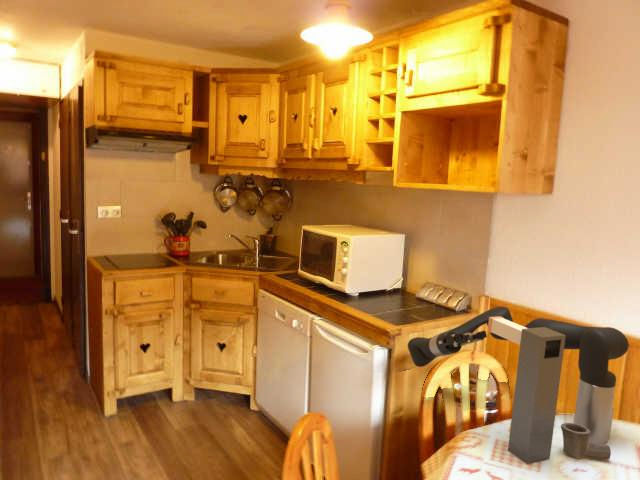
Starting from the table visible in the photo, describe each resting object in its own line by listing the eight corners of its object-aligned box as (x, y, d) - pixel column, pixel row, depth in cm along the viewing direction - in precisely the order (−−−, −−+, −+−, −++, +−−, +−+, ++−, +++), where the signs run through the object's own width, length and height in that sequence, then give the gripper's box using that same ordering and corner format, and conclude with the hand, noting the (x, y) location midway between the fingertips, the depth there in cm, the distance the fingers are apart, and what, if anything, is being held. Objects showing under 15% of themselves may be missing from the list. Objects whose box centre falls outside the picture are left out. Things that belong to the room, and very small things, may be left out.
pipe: (611, 466, 133) (615, 438, 132) (560, 458, 135) (564, 430, 134) (603, 454, 139) (607, 427, 138) (554, 446, 141) (558, 419, 140)
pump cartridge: (499, 330, 149) (500, 316, 149) (537, 347, 136) (539, 332, 135) (487, 331, 148) (489, 317, 147) (525, 348, 134) (527, 333, 133)
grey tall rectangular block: (529, 445, 140) (544, 327, 136) (549, 459, 134) (565, 335, 129) (507, 450, 137) (522, 328, 133) (527, 464, 131) (542, 337, 126)
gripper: (425, 335, 168) (453, 325, 154) (459, 331, 174) (489, 321, 160) (430, 357, 166) (459, 349, 152) (464, 352, 171) (495, 344, 157)
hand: (474, 335), depth 156 cm, fingers open, 8 cm apart
